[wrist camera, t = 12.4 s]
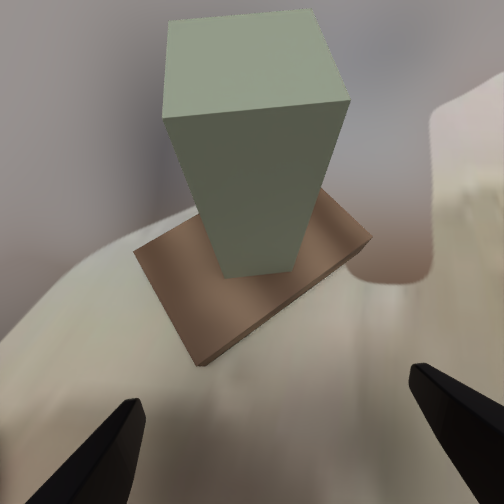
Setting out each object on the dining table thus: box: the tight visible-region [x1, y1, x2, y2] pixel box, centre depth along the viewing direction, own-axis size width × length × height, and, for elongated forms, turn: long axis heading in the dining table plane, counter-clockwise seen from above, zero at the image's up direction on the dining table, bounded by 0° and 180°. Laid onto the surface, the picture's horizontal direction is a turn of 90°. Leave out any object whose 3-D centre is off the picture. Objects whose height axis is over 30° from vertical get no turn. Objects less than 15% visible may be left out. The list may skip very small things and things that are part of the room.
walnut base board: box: [133, 188, 373, 366], centre depth 21 cm, size 16×10×3 cm, turn 125°
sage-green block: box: [162, 9, 351, 279], centre depth 13 cm, size 5×5×13 cm
